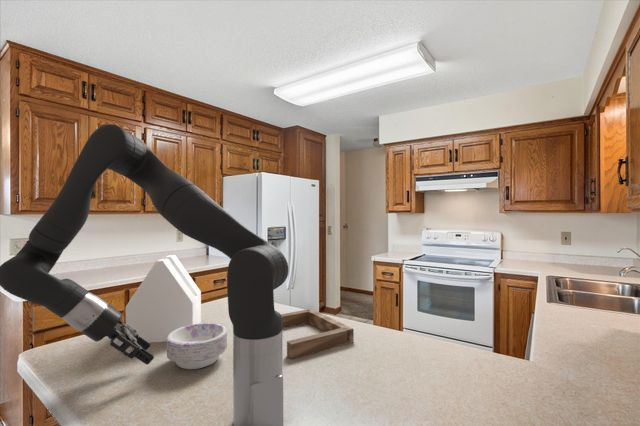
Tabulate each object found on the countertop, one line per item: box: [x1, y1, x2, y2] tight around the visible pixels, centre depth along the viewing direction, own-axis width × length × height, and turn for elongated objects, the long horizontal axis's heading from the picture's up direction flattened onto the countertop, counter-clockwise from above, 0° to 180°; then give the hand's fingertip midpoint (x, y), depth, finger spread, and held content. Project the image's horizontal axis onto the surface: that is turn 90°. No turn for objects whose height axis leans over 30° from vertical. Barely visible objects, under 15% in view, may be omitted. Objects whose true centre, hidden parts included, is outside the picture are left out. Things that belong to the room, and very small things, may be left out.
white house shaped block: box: [125, 254, 202, 343], centre depth 109 cm, size 19×15×25 cm
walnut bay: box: [280, 308, 355, 360], centre depth 105 cm, size 25×22×4 cm
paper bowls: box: [166, 322, 228, 370], centre depth 88 cm, size 15×15×8 cm
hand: (149, 354), depth 81 cm, fingers open, 8 cm apart
